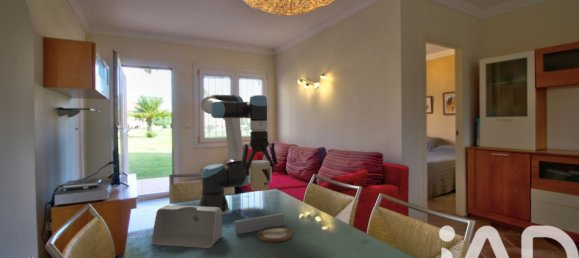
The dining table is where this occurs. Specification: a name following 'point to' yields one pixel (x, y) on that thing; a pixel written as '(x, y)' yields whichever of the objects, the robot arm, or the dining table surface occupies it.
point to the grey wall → (259, 223)
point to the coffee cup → (260, 174)
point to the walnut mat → (274, 234)
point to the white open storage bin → (187, 226)
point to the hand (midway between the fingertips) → (259, 181)
